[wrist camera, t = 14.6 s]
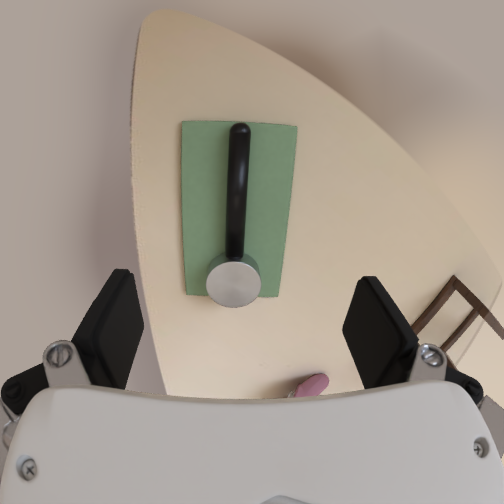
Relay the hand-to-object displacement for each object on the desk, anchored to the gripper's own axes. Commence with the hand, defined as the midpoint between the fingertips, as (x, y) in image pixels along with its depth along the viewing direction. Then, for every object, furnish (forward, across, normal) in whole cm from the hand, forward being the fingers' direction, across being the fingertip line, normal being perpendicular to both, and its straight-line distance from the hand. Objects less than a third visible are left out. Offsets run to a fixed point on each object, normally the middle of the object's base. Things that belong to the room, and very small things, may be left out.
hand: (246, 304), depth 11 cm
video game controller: (+13, -10, +27) cm, 32 cm away
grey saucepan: (+13, 0, +1) cm, 13 cm away
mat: (+13, 0, +1) cm, 13 cm away
